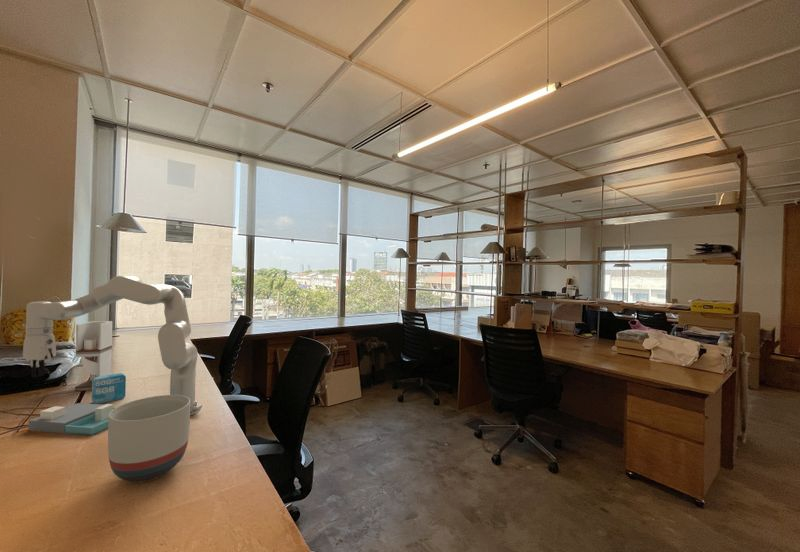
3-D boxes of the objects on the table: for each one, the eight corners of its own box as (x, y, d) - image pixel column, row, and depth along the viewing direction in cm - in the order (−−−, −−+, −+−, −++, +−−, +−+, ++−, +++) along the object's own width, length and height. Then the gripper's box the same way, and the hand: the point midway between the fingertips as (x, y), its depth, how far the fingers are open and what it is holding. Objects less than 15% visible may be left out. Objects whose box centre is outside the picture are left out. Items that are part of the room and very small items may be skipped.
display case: (88, 383, 183) (89, 321, 183) (111, 382, 187) (112, 321, 187) (74, 390, 172) (76, 324, 173) (99, 389, 176) (100, 324, 176)
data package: (92, 405, 155) (93, 379, 155) (91, 402, 158) (92, 377, 158) (125, 398, 164) (125, 374, 164) (123, 395, 167) (124, 372, 167)
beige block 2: (106, 415, 142) (113, 415, 142) (95, 420, 138) (101, 420, 137) (107, 403, 142) (113, 404, 142) (95, 408, 138) (101, 408, 137)
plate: (109, 414, 145) (110, 405, 145) (64, 433, 127) (64, 423, 127) (77, 411, 147) (78, 403, 147) (28, 430, 129) (28, 420, 129)
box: (134, 415, 144) (135, 409, 144) (92, 435, 126) (92, 427, 126) (110, 414, 145) (110, 407, 145) (64, 433, 127) (64, 425, 127)
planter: (177, 450, 117) (178, 390, 117) (198, 472, 104) (200, 405, 104) (100, 476, 101) (102, 407, 101) (114, 507, 88) (116, 427, 88)
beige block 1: (65, 414, 135) (65, 407, 135) (51, 419, 130) (51, 412, 130) (54, 413, 136) (54, 406, 136) (40, 418, 131) (40, 411, 131)
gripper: (65, 331, 137) (64, 374, 137) (34, 329, 139) (33, 372, 139) (44, 334, 130) (42, 380, 129) (12, 332, 131) (10, 377, 131)
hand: (37, 376), depth 134 cm, fingers closed
